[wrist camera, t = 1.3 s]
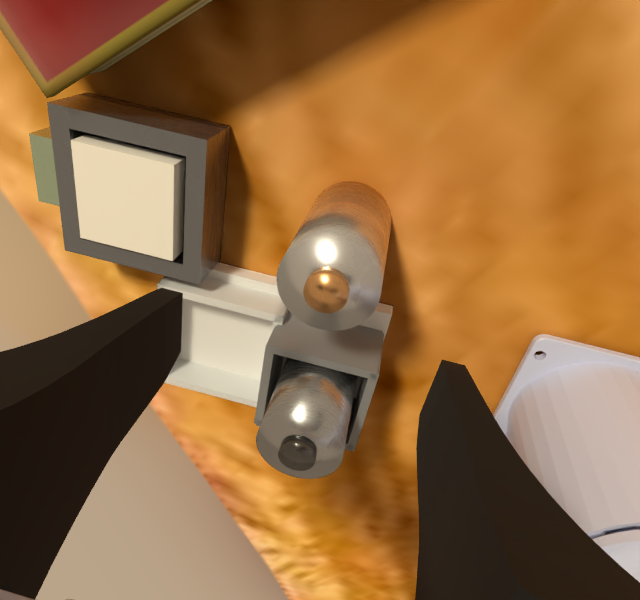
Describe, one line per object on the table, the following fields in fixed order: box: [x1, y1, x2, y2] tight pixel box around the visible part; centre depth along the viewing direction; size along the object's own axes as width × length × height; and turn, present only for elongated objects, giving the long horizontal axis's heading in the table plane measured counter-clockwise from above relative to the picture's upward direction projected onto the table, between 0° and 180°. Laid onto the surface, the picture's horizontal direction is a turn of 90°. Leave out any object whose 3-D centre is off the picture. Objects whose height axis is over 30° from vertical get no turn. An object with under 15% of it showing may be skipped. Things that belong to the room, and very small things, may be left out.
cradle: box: [29, 93, 231, 285], centre depth 21 cm, size 6×8×3 cm
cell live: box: [277, 182, 392, 331], centre depth 19 cm, size 4×4×6 cm
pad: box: [71, 135, 185, 261], centre depth 20 cm, size 4×4×1 cm
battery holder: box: [157, 262, 393, 451], centre depth 24 cm, size 7×11×4 cm, turn 80°
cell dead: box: [256, 357, 357, 479], centre depth 22 cm, size 4×4×6 cm
